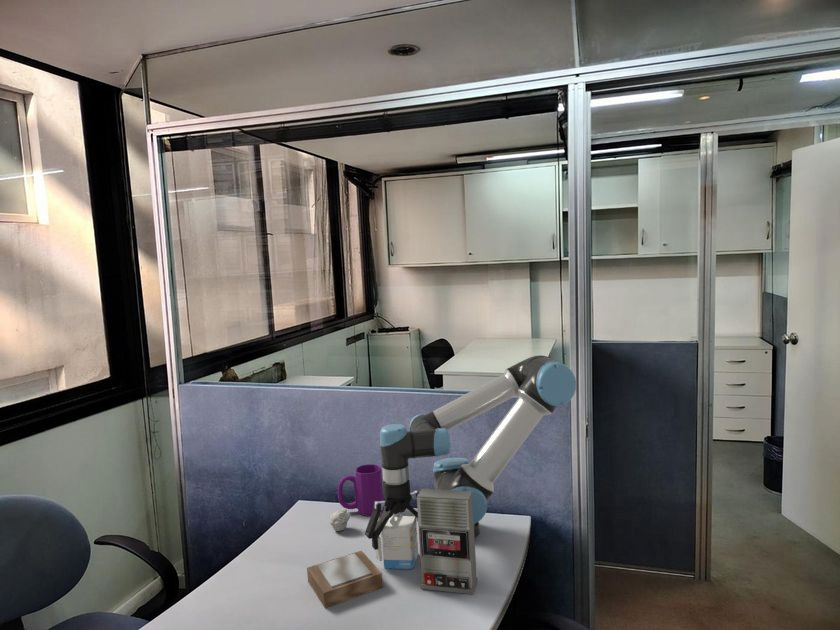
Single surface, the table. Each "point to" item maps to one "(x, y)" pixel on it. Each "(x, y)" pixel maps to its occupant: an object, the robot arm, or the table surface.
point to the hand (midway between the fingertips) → (400, 551)
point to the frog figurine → (339, 519)
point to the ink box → (400, 542)
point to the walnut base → (344, 578)
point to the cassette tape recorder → (447, 540)
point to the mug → (364, 489)
